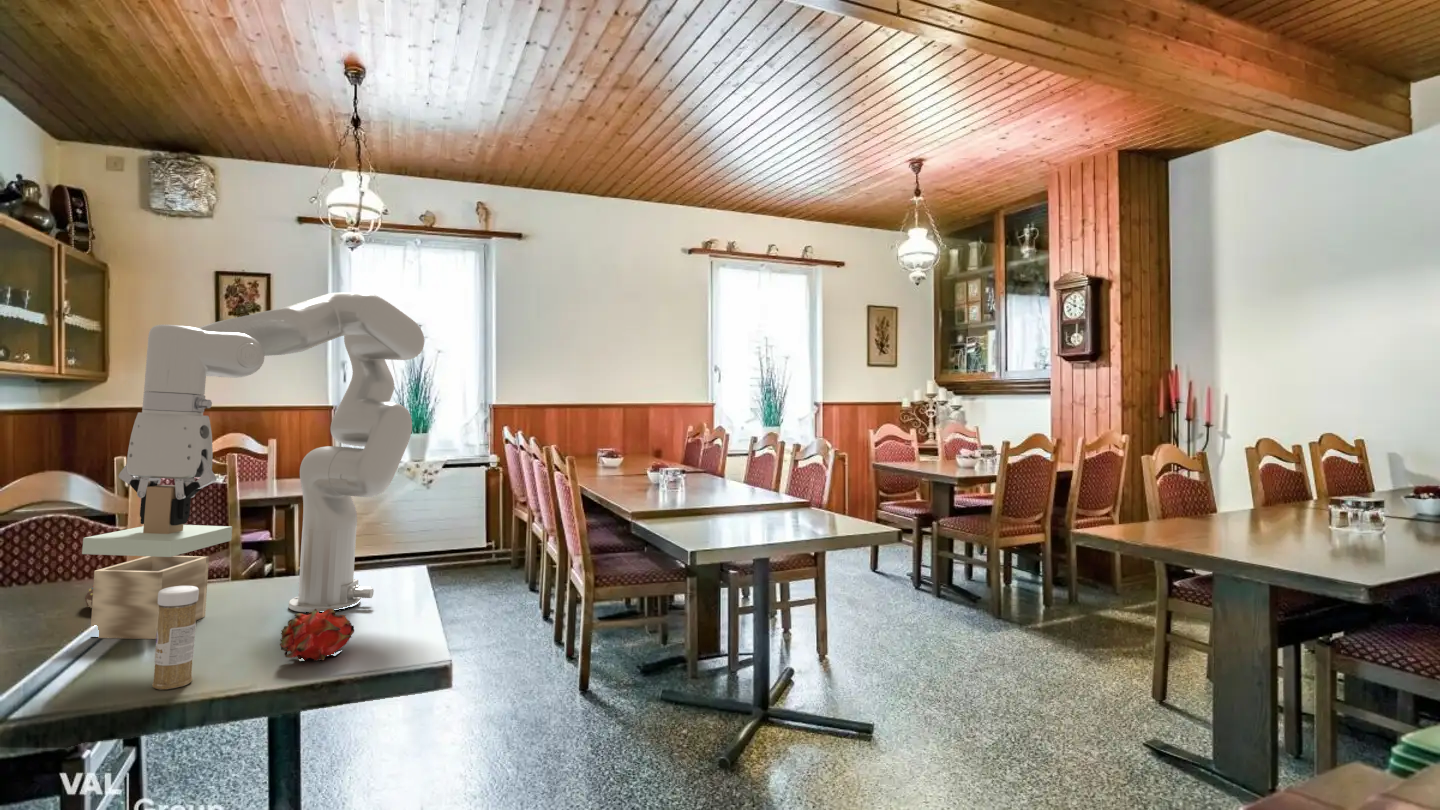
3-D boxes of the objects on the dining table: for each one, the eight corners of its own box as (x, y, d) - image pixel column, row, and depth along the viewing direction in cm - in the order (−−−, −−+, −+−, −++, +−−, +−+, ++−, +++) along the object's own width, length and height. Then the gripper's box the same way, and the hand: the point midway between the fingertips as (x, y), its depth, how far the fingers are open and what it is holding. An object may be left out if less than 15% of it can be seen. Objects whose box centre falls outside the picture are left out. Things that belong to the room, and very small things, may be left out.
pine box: (205, 616, 130) (208, 556, 131) (155, 639, 117) (159, 572, 118) (147, 615, 130) (151, 555, 130) (90, 637, 116) (94, 570, 117)
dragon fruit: (268, 679, 107) (344, 668, 117) (300, 654, 104) (375, 646, 114) (261, 625, 111) (335, 620, 121) (292, 600, 108) (364, 597, 118)
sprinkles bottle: (148, 684, 99) (154, 587, 99) (188, 676, 103) (193, 583, 103) (156, 693, 96) (163, 594, 96) (197, 685, 100) (203, 589, 100)
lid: (231, 540, 117) (235, 484, 118) (170, 557, 102) (175, 492, 103) (155, 537, 116) (159, 480, 117) (81, 554, 101) (87, 488, 102)
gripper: (243, 408, 115) (235, 522, 114) (134, 403, 113) (124, 518, 112) (215, 407, 107) (205, 529, 107) (97, 401, 106) (87, 524, 105)
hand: (164, 522), depth 110 cm, fingers closed on lid, 3 cm apart
